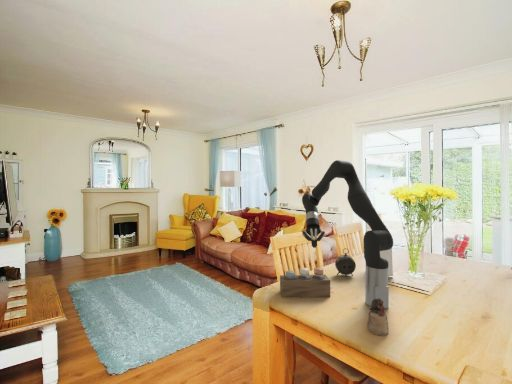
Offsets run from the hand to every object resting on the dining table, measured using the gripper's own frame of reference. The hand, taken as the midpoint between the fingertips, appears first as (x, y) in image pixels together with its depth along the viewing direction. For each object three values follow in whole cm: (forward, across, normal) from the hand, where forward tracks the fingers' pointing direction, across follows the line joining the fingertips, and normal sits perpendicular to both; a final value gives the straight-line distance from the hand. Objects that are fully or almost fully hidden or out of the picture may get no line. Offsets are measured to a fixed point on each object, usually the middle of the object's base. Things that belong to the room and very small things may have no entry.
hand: (314, 246), depth 145 cm
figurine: (+46, +18, -16) cm, 52 cm away
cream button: (+17, -6, -2) cm, 18 cm away
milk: (-1, +40, +30) cm, 50 cm away
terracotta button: (+16, +1, -1) cm, 16 cm away
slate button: (+19, -13, -2) cm, 23 cm away
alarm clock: (+4, +19, +25) cm, 32 cm away
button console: (+24, -6, +5) cm, 25 cm away
